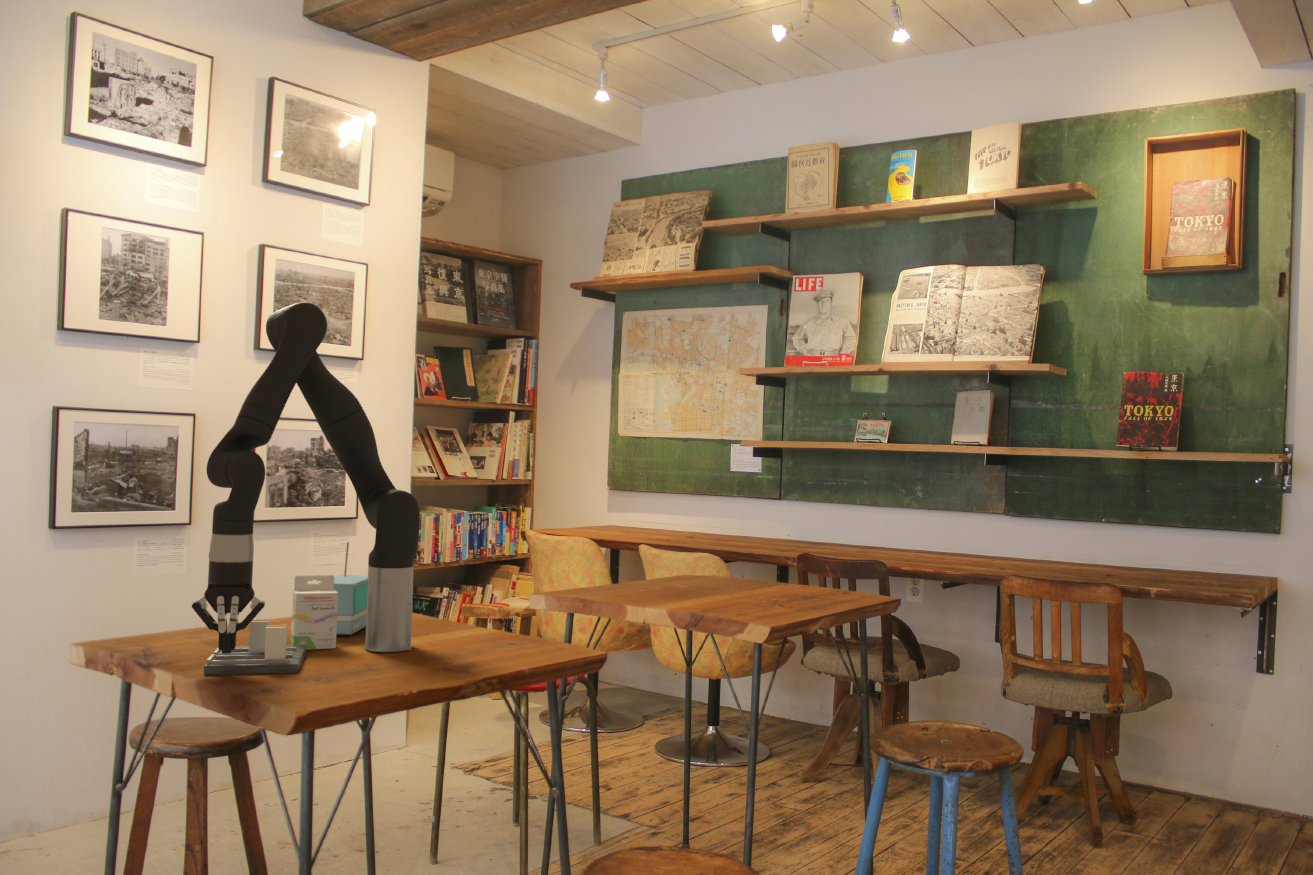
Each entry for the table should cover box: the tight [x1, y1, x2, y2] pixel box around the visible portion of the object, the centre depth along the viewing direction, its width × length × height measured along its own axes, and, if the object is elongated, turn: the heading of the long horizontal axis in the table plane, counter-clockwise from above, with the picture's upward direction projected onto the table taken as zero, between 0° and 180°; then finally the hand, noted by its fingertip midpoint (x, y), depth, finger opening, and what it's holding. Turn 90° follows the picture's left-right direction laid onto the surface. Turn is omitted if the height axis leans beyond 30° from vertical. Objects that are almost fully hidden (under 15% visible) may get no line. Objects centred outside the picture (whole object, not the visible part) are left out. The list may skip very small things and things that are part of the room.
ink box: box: [289, 574, 338, 651], centre depth 210 cm, size 9×5×15 cm, turn 117°
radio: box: [318, 541, 368, 638], centre depth 230 cm, size 16×9×20 cm, turn 179°
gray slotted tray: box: [203, 644, 307, 676], centre depth 192 cm, size 16×19×2 cm
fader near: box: [265, 624, 288, 659], centre depth 188 cm, size 4×3×6 cm
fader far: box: [248, 618, 272, 652], centre depth 194 cm, size 4×3×6 cm
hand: (226, 652), depth 185 cm, fingers closed
